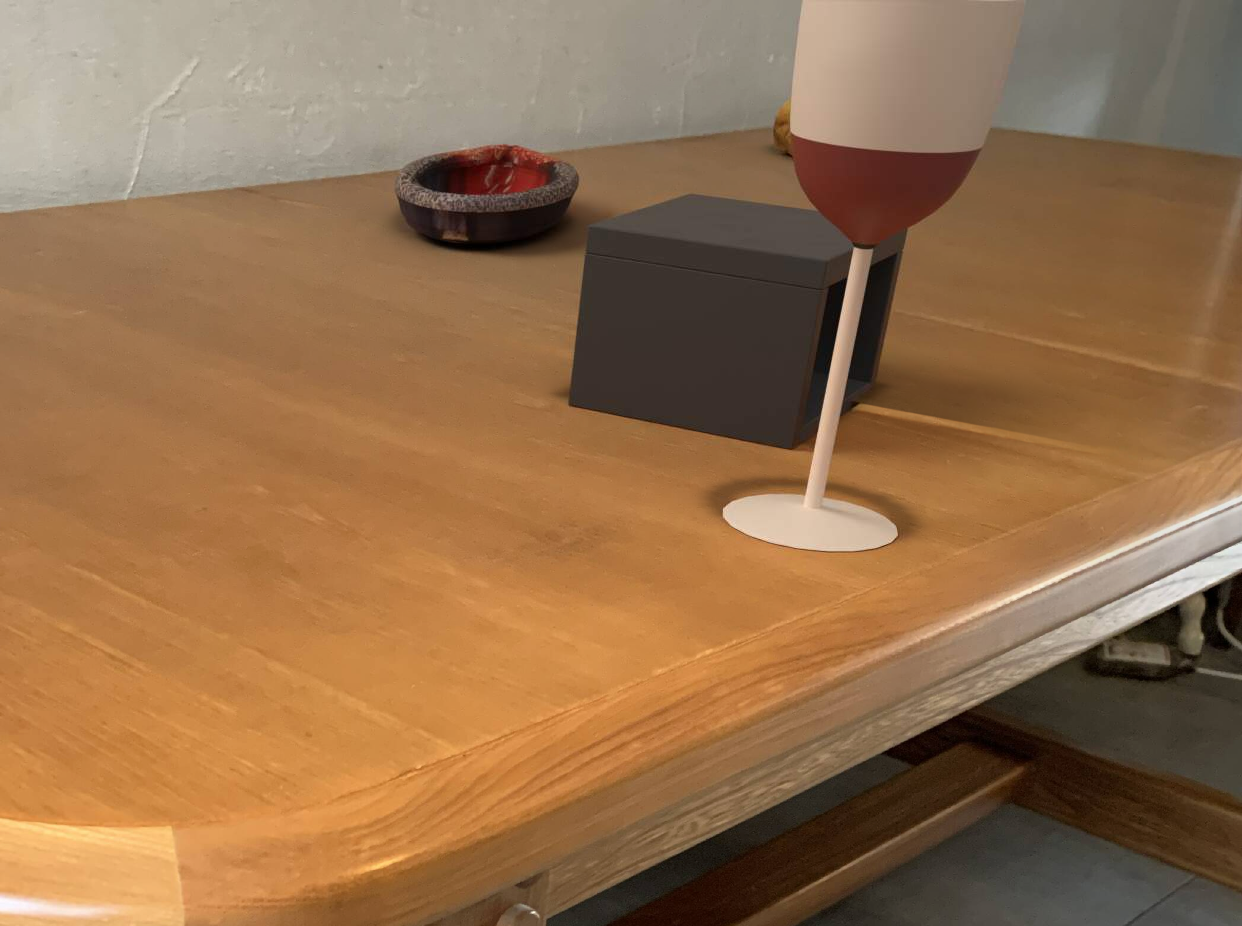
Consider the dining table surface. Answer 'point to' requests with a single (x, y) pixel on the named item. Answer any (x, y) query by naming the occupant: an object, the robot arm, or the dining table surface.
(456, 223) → the dish
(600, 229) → the shelf
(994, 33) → the wineglass
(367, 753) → the dining table surface
